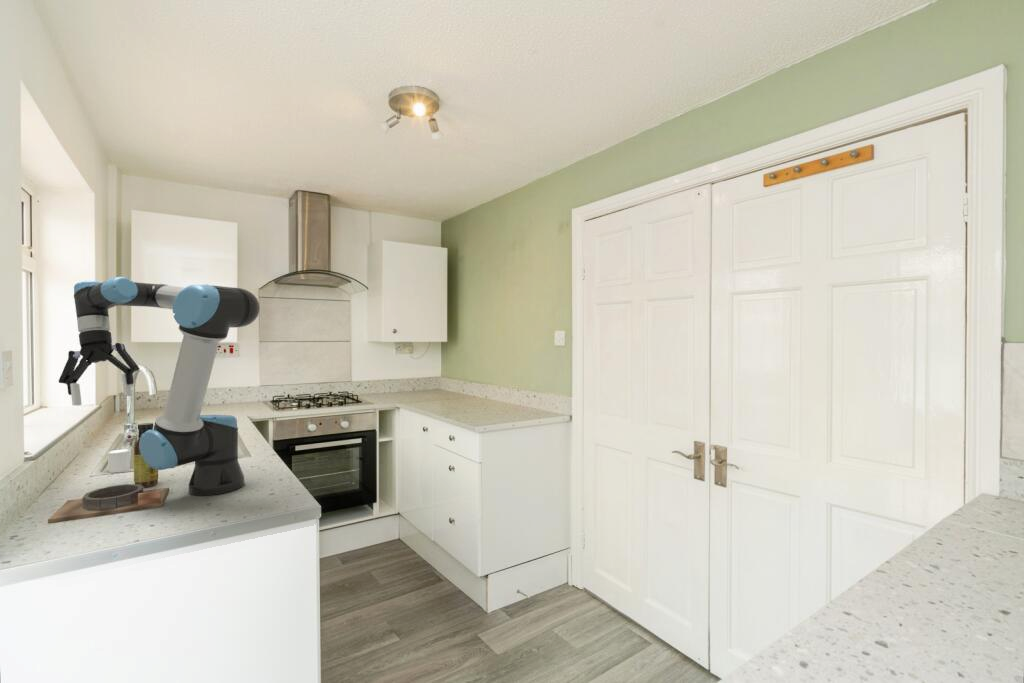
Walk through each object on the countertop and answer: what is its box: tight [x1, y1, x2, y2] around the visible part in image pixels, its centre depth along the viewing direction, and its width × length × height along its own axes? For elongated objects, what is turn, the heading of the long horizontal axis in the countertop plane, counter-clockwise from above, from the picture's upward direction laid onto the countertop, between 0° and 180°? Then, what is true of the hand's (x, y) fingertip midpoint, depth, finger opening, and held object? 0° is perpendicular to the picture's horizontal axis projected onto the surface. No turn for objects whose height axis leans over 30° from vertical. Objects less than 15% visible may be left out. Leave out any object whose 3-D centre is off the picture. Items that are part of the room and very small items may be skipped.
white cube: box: [106, 448, 132, 474], centre depth 173 cm, size 7×7×7 cm
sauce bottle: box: [133, 422, 159, 488], centre depth 157 cm, size 6×6×20 cm
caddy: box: [47, 483, 170, 524], centre depth 139 cm, size 24×16×4 cm, turn 119°
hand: (102, 400), depth 147 cm, fingers open, 13 cm apart
